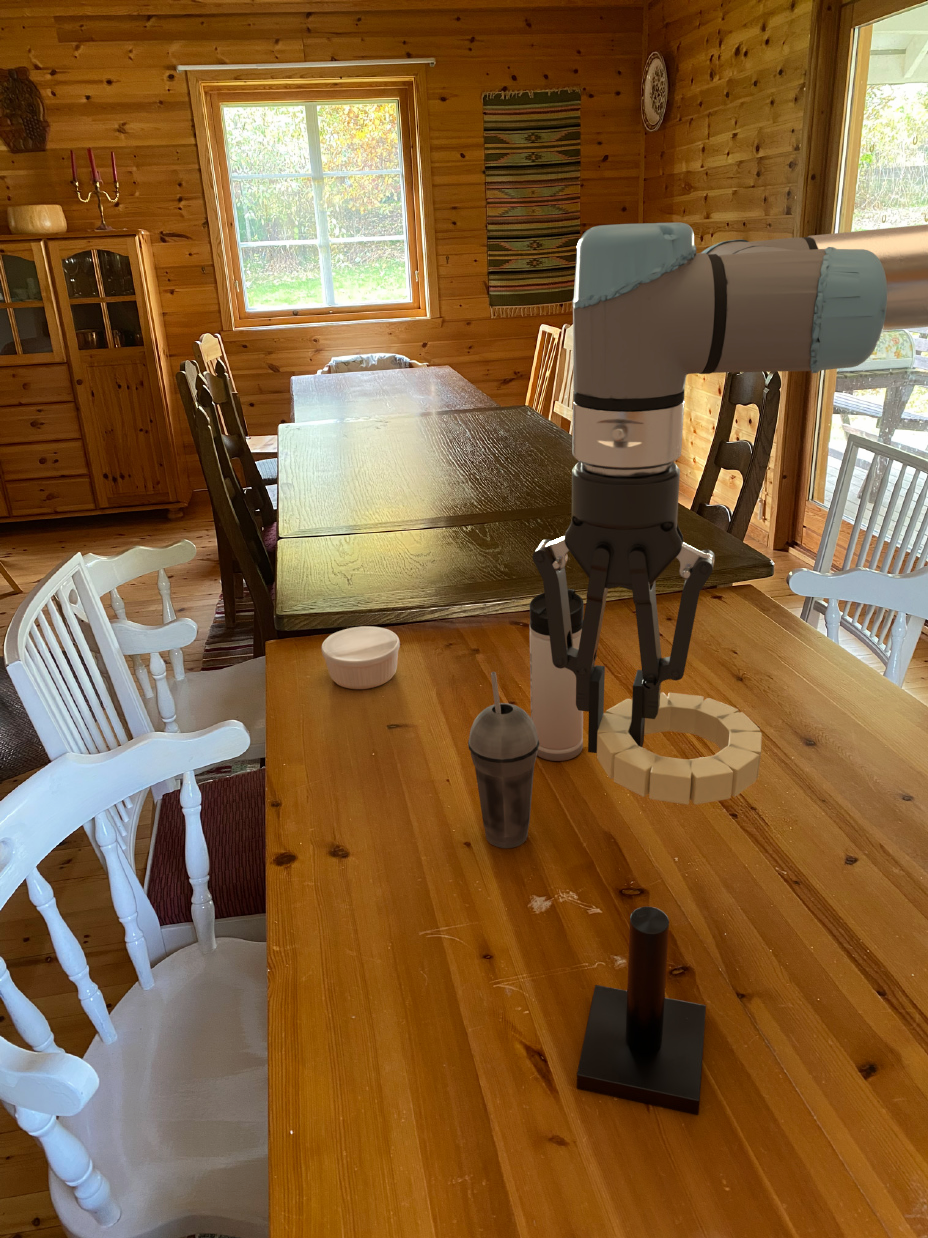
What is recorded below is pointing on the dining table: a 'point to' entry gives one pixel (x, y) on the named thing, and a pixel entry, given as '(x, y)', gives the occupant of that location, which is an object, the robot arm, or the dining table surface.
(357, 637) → the ramekin
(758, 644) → the dining table surface
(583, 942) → the dining table surface
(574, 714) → the travel mug
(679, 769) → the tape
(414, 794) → the dining table surface
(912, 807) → the dining table surface
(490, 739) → the beverage cup
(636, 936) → the stand
